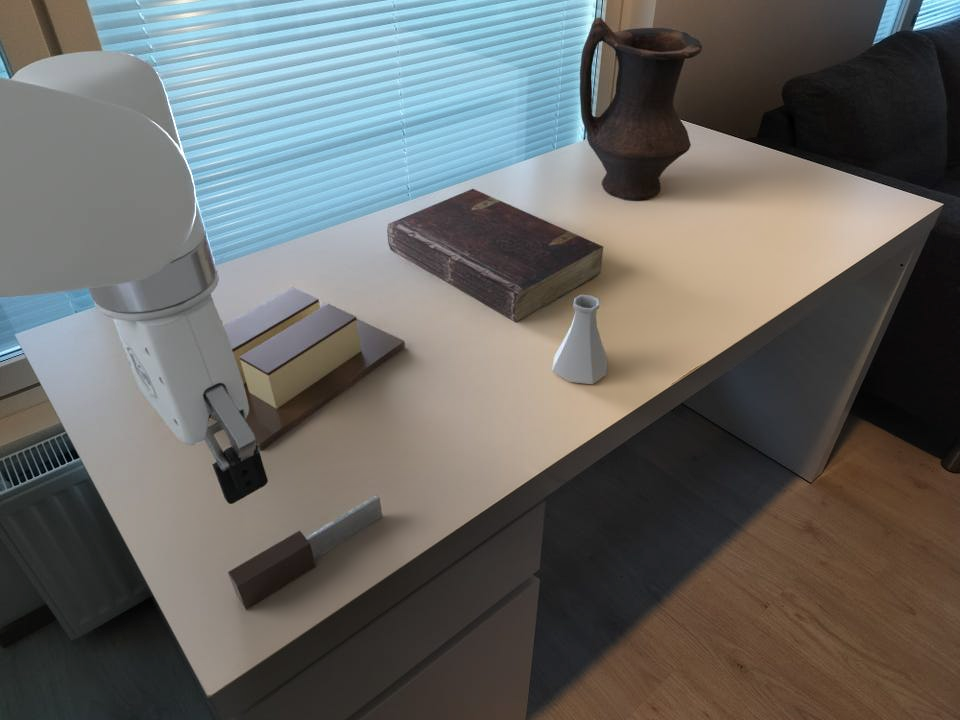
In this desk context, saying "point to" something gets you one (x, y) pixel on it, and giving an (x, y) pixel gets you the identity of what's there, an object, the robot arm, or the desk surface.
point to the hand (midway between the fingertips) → (218, 456)
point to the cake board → (320, 387)
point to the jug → (637, 107)
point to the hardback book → (496, 252)
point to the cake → (290, 344)
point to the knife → (297, 555)
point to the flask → (582, 346)
